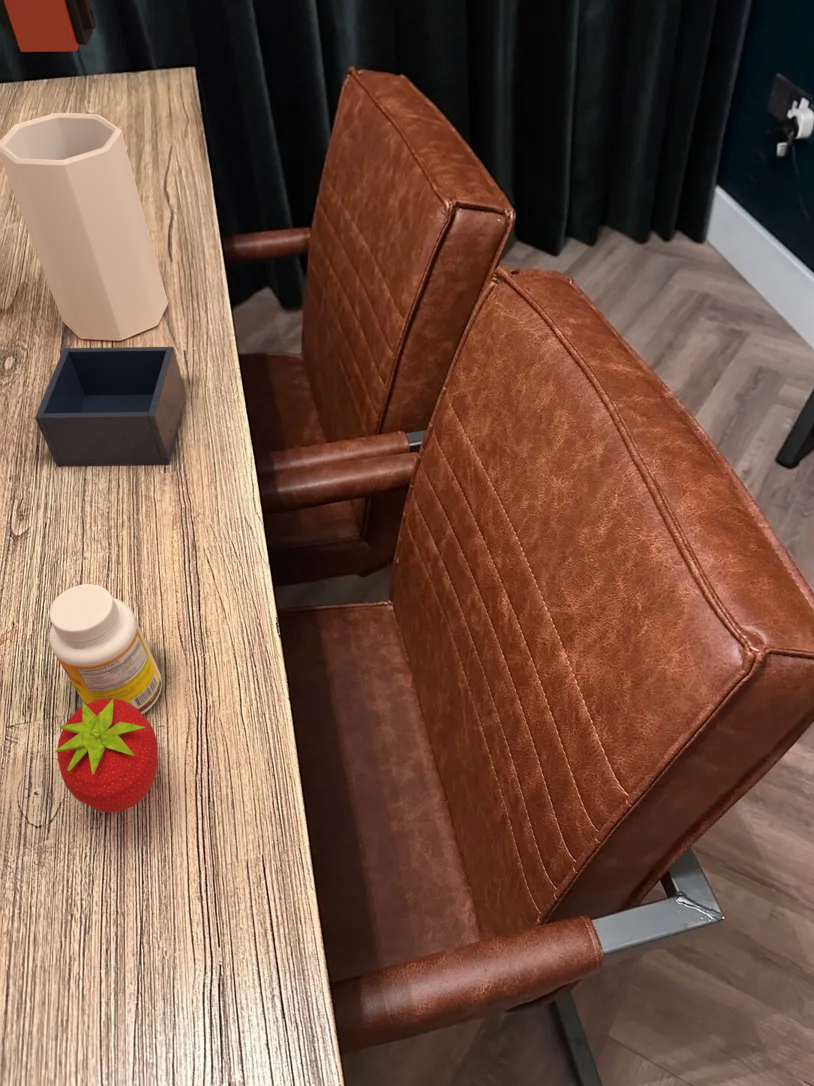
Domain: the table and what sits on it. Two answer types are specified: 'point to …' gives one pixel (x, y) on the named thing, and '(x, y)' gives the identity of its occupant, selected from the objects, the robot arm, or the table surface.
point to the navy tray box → (113, 406)
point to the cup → (86, 223)
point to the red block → (42, 25)
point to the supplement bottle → (103, 648)
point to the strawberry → (108, 755)
